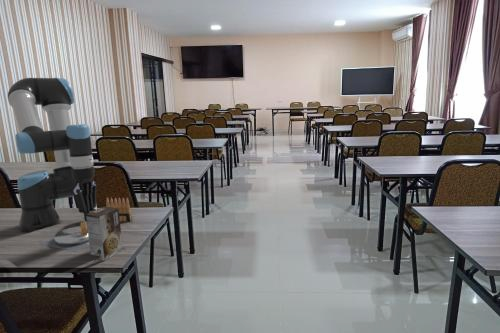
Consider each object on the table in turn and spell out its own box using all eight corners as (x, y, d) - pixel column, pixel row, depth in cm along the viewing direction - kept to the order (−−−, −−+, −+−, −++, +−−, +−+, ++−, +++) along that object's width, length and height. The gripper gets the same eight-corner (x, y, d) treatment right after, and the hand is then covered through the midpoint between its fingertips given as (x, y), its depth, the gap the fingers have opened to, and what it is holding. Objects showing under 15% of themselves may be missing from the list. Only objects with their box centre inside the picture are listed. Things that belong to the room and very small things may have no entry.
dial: (49, 247, 122) (47, 231, 121) (61, 232, 136) (59, 218, 135) (91, 243, 125) (89, 227, 124) (99, 229, 139) (97, 215, 138)
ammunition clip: (132, 223, 150) (130, 196, 147) (130, 224, 148) (128, 198, 146) (109, 223, 151) (106, 196, 148) (107, 224, 149) (104, 198, 146)
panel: (39, 248, 127) (38, 243, 126) (77, 231, 142) (76, 227, 142) (75, 255, 120) (74, 250, 120) (111, 236, 135) (110, 232, 135)
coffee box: (109, 247, 126) (105, 205, 122) (123, 250, 123) (119, 207, 120) (90, 258, 117) (84, 213, 114) (104, 261, 115) (99, 216, 112)
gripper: (81, 170, 118) (89, 234, 123) (101, 163, 131) (108, 222, 135) (61, 170, 119) (70, 234, 124) (83, 164, 132) (90, 222, 136)
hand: (90, 228), depth 129 cm, fingers closed
